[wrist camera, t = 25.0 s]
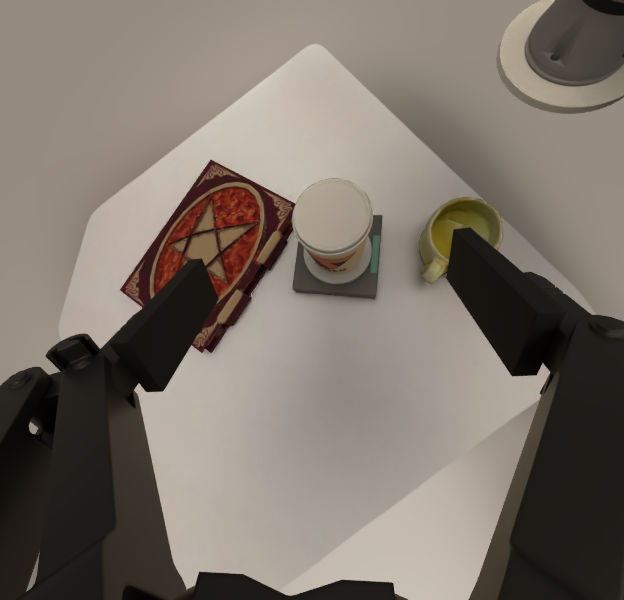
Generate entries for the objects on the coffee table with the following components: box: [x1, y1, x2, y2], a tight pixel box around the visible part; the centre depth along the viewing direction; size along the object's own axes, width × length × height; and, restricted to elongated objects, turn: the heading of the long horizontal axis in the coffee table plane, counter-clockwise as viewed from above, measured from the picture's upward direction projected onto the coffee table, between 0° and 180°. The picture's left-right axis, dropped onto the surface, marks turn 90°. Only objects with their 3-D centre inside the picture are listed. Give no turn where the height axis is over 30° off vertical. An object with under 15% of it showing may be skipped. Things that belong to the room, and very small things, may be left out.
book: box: [120, 160, 296, 353], centre depth 47 cm, size 28×21×5 cm
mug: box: [419, 197, 503, 284], centre depth 39 cm, size 12×10×10 cm
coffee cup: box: [292, 179, 373, 274], centre depth 36 cm, size 9×9×12 cm
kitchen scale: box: [293, 215, 382, 299], centre depth 44 cm, size 13×13×3 cm
